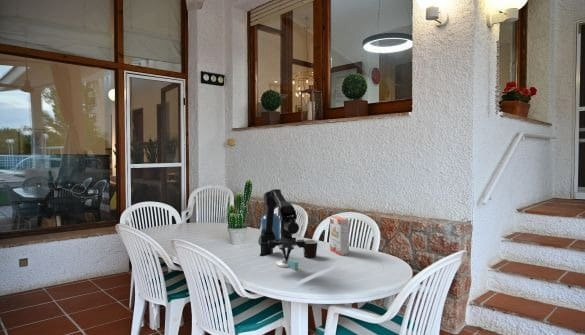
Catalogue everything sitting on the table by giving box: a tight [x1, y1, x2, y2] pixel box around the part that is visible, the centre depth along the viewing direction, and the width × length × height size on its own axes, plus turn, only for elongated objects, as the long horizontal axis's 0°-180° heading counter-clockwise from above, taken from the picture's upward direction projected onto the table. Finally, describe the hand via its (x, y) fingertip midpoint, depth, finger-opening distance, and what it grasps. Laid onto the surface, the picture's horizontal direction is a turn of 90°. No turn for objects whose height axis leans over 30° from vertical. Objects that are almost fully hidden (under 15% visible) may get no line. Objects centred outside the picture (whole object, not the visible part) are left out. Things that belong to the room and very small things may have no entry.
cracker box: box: [329, 215, 350, 256], centre depth 228 cm, size 14×6×21 cm, turn 21°
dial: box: [275, 258, 299, 271], centre depth 196 cm, size 16×10×4 cm, turn 31°
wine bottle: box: [260, 213, 281, 242], centre depth 260 cm, size 14×13×30 cm
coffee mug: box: [302, 239, 319, 259], centre depth 215 cm, size 12×9×10 cm
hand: (286, 260), depth 190 cm, fingers closed
